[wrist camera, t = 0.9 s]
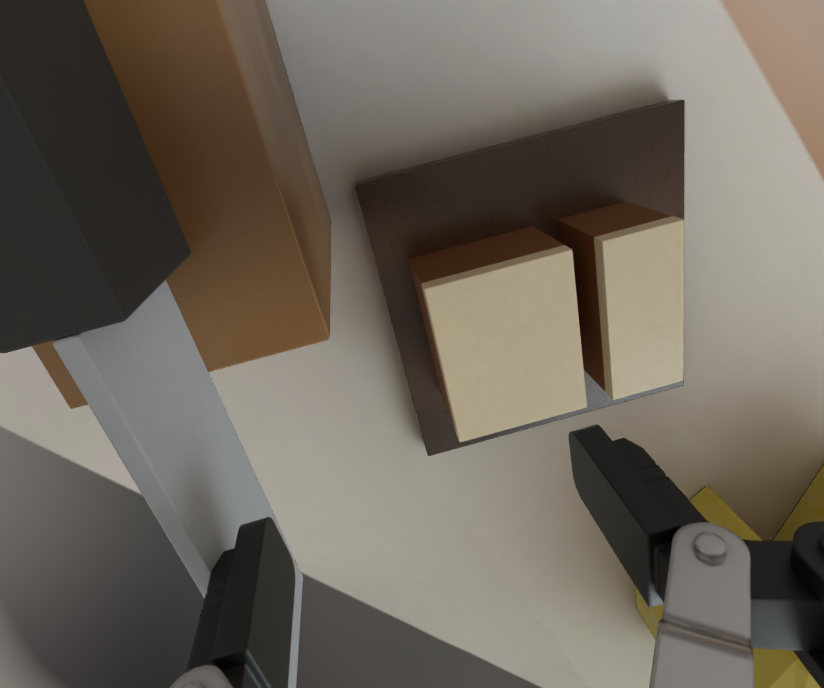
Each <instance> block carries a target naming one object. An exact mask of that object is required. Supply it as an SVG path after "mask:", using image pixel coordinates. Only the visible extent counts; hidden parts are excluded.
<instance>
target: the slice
mask: <svg viewBox="0 0 824 688" xmlns="http://www.w3.org/2000/svg"><path fill="white" fill-rule="evenodd" d="M557 221H558V230H559V240H560V243H562V244H564V245H565V246H567V247H569V248H571V249H572V252H573V263H574V273H575V284H576V295H577V305H578V316H579V326H580V337H581V348H582V358H583V369H584V370H585V371H586V373H587V374H588V375H589V376H590V377H591V378H592V379H593V380H594V381H595V382H596V383H597V384H598V385H599V386H600V387H601V388H602V389H603V390H604V391H605V392H606V393H607V394H608V395H609V396H610V397H611V398H612V400H615V399H619V398H623V397H626V396H630V395H633V394H637V393H641V392H644V391H648V390H651V389H655V388H659V387H662V386H666V385H670V384H673V383H677V382H680V381H683V360H684V219H681V218H677V217H674V216H671V215H668V214H664V213H661V212H658V211H655V210H651V209H648V208H645V207H642V206H639V205H635V204H632V203H629V202H626V201H625V202H621V203H617V204H613V205H610V206H606V207H602V208H598V209H595V210H591V211H587V212H583V213H580V214H576V215H572V216H568V217H565V218H561V219H558V220H557Z"/></svg>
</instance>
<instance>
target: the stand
mask: <svg viewBox="0 0 824 688" xmlns="http://www.w3.org/2000/svg"><path fill="white" fill-rule="evenodd" d="M83 1H84V3H85V5H86V8H87V10H88V12H89V15H90V17H91V19H92V22H93V24H94V26H95V29H96V31H97V33H98V36H99V38H100V40H101V43H102V45H103V47H104V50H105V52H106V54H107V57H108V59H109V61H110V64H111V66H112V68H113V71H114V73H115V75H116V78H117V80H118V82H119V85H120V87H121V90H122V92H123V94H124V97H125V99H126V101H127V104H128V106H129V108H130V111H131V113H132V115H133V118H134V120H135V122H136V125H137V127H138V129H139V132H140V134H141V136H142V139H143V141H144V143H145V146H146V148H147V150H148V153H149V155H150V157H151V160H152V162H153V164H154V167H155V169H156V171H157V174H158V176H159V178H160V181H161V183H162V185H163V188H164V190H165V192H166V195H167V197H168V199H169V202H170V204H171V206H172V209H173V211H174V213H175V216H176V218H177V220H178V223H179V225H180V227H181V230H182V232H183V234H184V237H185V239H186V241H187V244H188V246H189V248H190V251H191V255H190V256H189V257H188V258H187V259H186V260H185V261H184V262H183V263H182V264H181V265H180V266H179V267H178V268H177V269H176V270H175V271H174V272H173V273H172V274H171V275H170V276H169V277H168V278H167V279H166V282H167V284H168V286H169V288H170V290H171V292H172V295H173V297H174V299H175V301H176V303H177V305H178V308H179V310H180V312H181V314H182V316H183V318H184V321H185V323H186V325H187V327H188V329H189V331H190V334H191V336H192V338H193V340H194V342H195V344H196V347H197V349H198V351H199V353H200V355H201V357H202V360H203V362H204V364H205V366H206V368H207V370H208V372H210V371H214V370H218V369H221V368H225V367H229V366H233V365H236V364H240V363H244V362H247V361H251V360H255V359H259V358H262V357H266V356H270V355H273V354H277V353H281V352H285V351H288V350H292V349H296V348H299V347H303V346H307V345H311V344H314V343H318V342H322V341H326V340H329V339H330V282H331V219H330V216H329V213H328V209H327V206H326V203H325V199H324V196H323V193H322V189H321V186H320V183H319V179H318V176H317V172H316V169H315V166H314V162H313V159H312V156H311V152H310V149H309V146H308V142H307V139H306V136H305V132H304V129H303V125H302V122H301V119H300V115H299V112H298V109H297V105H296V102H295V99H294V95H293V92H292V89H291V85H290V82H289V78H288V75H287V72H286V68H285V65H284V62H283V58H282V55H281V52H280V48H279V45H278V41H277V38H276V35H275V31H274V28H273V25H272V21H271V18H270V15H269V11H268V8H267V5H266V1H265V0H83ZM53 341H54V340H52V341H49V342H45V343H41V344H37V345H33V346H32V347H33V349H34V350H35V352H36V354H37V355H38V357H39V358H40V360H41V362H42V363H43V365H44V366H45V368H46V370H47V371H48V373H49V375H50V376H51V378H52V379H53V381H54V383H55V384H56V386H57V387H58V389H59V391H60V392H61V394H62V396H63V397H64V399H65V400H66V402H67V404H68V405H69V407H70V408H71V409H73V408H77V407H80V406H84V405H88V403H87V401H86V400H85V398H84V396H83V395H82V393H81V391H80V390H79V388H78V386H77V385H76V383H75V381H74V380H73V378H72V376H71V375H70V373H69V371H68V370H67V368H66V366H65V365H64V363H63V361H62V360H61V358H60V356H59V354H58V353H57V351H56V349H55V348H54V346H53V344H52V342H53Z"/></svg>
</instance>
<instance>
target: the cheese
mask: <svg viewBox="0 0 824 688" xmlns="http://www.w3.org/2000/svg"><path fill="white" fill-rule="evenodd" d="M689 501H690V502H691V503H692V504H693V505H694V507H695V508H696V509H697V510H698V511H699V512H700V513H701V514H702V516H703V517H704V518H705V519H706V520H707V521H708V522H709V523H713V524H717V525H720V526H722V527H725V528H727V529H729V530H731V531H732V532H734V533H735V534H737V535H738V536H739V537H740V538H741V539H746V540H754V541H763V540H762V539H761V538H760V537H759V536H758V535H757V534H756V533H755V532H754V531H753V530H752V529H751V528H750V527H749V526H748V525H747V524H746V523H745V522H744V521H743V520H742V519H741V518H740V517H739V516H738V515H737V514H736V513H735V512H734V511H733V510H732V509H731V508H730V507H729V506H728V505H727V504H726V503H725V502H724V501H723V500H722V499H721V498H720V497H719V496H718V495H717V494H716V493H715V492H714V491H713V490H712V489H711V488H710V487H709V486H708V485H707V486H706V487H705V488H704V489H702V490H701V491H700V492H699V493H698V494H696V495H695V496H694V497H693V498H692V499H690V500H689ZM819 521H824V465H823V467H822V468H821V470H820V471H819V473H818V474H817V476H816V477H815V479H814V480H813V482H812V483H811V485H810V486H809V488H808V489H807V491H806V492H805V494H804V495H803V497H802V498H801V500H800V501H799V503H798V504H797V506H796V507H795V509H794V510H793V512H792V513H791V515H790V516H789V518H788V519H787V520H786V522H785V523H784V525H783V526H782V528H781V529H780V531H779V532H778V534H777V535H776V537H775V538H774V540H773V541H793V536H794V533H795V531H796V530H797V529H798V528H799V527H800V526H802V525H804V524H807V523H810V522H819ZM636 606H637V610H638V611H639V613H640V615H641V616H642V618H643V620H644V621H645V623H646V625H647V626H648V628H649V630H650V631H651V633H652V635H653V636H654V638H655V640H656V635H657V629H658V623H659V620H661V619H662V614H663V606H664V604H661V605H657V606H654V607H651V608H649V607H648V605H647V604H646V602H645V600H644V599H643V597H642V596H641V594H640V592H639V591H638V589H637V588H636ZM753 659H754V688H821V687H820V686H819V685H818V683H817V682H816V681H815V680H814V678H813V677H812V676H811V674H810V673H809V672H808V670H807V669H806V668H805V666H804V665H803V664H802V662H801V661H800V660H799V658H798V657H797V656H796V654H795V653H794V652H793V651H792V650H777V649H758V648H753Z"/></svg>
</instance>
